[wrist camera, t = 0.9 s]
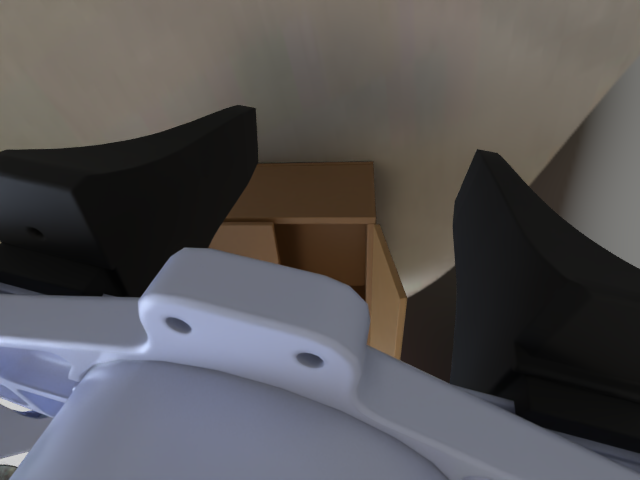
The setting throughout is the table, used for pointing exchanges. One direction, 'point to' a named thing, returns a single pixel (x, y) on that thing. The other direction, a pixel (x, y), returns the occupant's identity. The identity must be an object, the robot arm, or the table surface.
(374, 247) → the flap
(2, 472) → the sword in stone
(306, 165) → the carton
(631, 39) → the table surface
